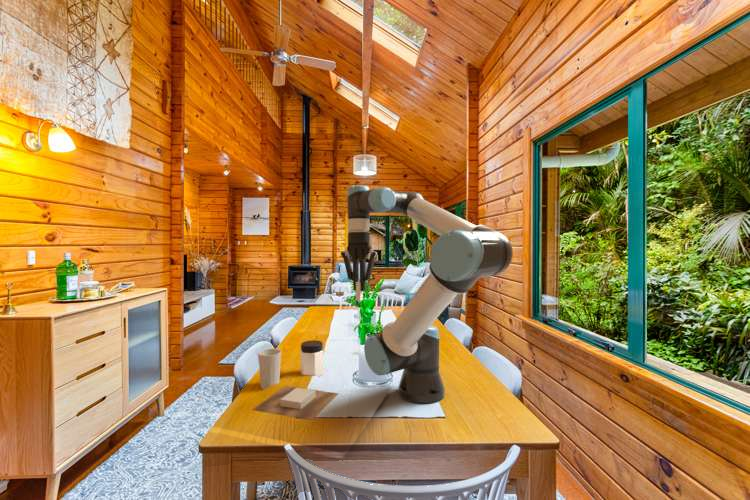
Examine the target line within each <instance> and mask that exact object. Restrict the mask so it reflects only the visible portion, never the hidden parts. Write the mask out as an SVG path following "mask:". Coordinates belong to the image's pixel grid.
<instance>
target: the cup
mask: <svg viewBox="0 0 750 500" xmlns="http://www.w3.org/2000/svg"><path fill="white" fill-rule="evenodd" d="M257 358H258V359H257V360H258V366H259V377H260V378H259V379H260V388H261V389H262V390H267V389H268V388H270V387H271V386H272V387H273V386H276V385H278V384H279V383H280V379H281V377H280V376H281V375H280V374H281V361H282V350H281V349H279V348H265V349H261V350H259V351H258V352H257Z"/></svg>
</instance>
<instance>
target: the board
mask: <svg viewBox="0 0 750 500" xmlns="http://www.w3.org/2000/svg"><path fill="white" fill-rule="evenodd" d="M295 388H298V387H296V386H290V385H285V386H284V387H282V388H281V389H278V391H276V392H274V393H273V394H272V395H271V396H269V397H268V398H266V399H264V401H262V402H260V403H259V404H257V405H256V406H254V407H253V408H251V410H252V411H256V412H262V413H268V414H273V415H278V416H279V415H280V416H284V417H291V418H296V419H301V420H307V421H313V420H314V419H315V418H316V417H317V416H318V415H319V413H321V412H322V411H323V410H324V409H325V408H326V406H328V405H329V404H330V403H331V402H332V401H333V400H334V399H335V398H336V397H337V396H338V395H339V393H338V392H337V393H336V392H330V391H325V390H324V391H323V390H318V389H315V390H316V397H315V398H314V399H312V400H311V401H310V402H309V403H308V404H307V405H305V406H304V407H303V408H302V409H295V408H289V407H283V406H281V405H280V399H282V398H283V397H284V396H286V395H287V394H289V393H290V392H291V391H293V390H294V389H295ZM301 388H302V387H301ZM302 389H305V388H302ZM308 389H309V388H308ZM309 390H312V389H311V388H310V389H309Z"/></svg>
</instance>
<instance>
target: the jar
mask: <svg viewBox="0 0 750 500" xmlns="http://www.w3.org/2000/svg"><path fill="white" fill-rule="evenodd" d="M323 345H324V344H323V341H321V340H313V339H312V340H306V341H303V342H301V343H300V373H301V375H302V376H311V377H318V378H320V377H322V376H324V373H325V371H324V370H325V368H324V365H325V364H324V363H325V362H324V361H325V360H324V349H323V347H324V346H323Z"/></svg>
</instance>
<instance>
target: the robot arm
mask: <svg viewBox="0 0 750 500" xmlns="http://www.w3.org/2000/svg"><path fill="white" fill-rule="evenodd" d="M346 200H347V201H346V202H347V205H346V206H347V231H348V233H347V243H348V245H347V247H346V249H345V250H344V251H342V252H340V255H341V257H342V258H343V261H344V262H343V263H344V267H345V271H346V275H347V279H348V280H349V281H352V282H353V287H352V288H353V291H355V302H361V301H363V300H364V298H363V297H364V291H366V281H368V280H370V279H371V278H372V273H373V269H374V263H375V260H376V257H377V256H378V252H377V251H374V250H373V249H372V246H371V236H370V235H371V233H370V232H369V231H370V229H371V224H370V222H371V221H370V219H371V217H370V214H372V213H373V214H376V213H378V214H379V213H381V214H382V213H383V214H398V215H399V214H401V215H404V216H406V217H407V218H409V219H412V220H413V221H414V222H416V223H417V224H419V225H421V226H423V227H425V228H427V229H428V230H429V231H431V232H433V233H435V234H437V236H438V237H436V239H435V241H434V242H433V244H432V246H431V248H430V252H429V254H430V255H431V256H430V257H429V265H428V268H429V269H428V270H429V272H430V273H429V274H428V275H427V277H426V278H425V279H424V281H423V282H422V283H421V285H420V286H419V288H418V289H417V290H416V292H415V293H414V295H413V296H412V297H411V299H409V302H408V303H407V304H406V305H405V307H404V308H403V310H401V312H400V314H399V315H398V316H397V317H396V319H395V320H394V321H391V322H388V323H387V324H385V325H384V327H383V328H382V329H381V330H380V332H379V333H377V334H376V335H371V336H369V337H367V338H366V340H365V342H364V347H363V349H364V350H363V351H364V359H365V360H366V364H367V366H368V367H369V369H370V371H371V372H372V373H374V374H375V375H377V376H384V375H385V376H386V375H390V374H391V373H395V372H398V371H402V370H403V371H402V374H401V377H400V379H399V383H398V395H399V396H400V397H401V398H402V399H404V400H406V401H408V402H412V403H416V404H417V403H418V404H431V403H432V404H433V403H436V402H440V401H441V400H442V399H443V398H444V397H445V393H446V390H445V386H444V384H445V383H444V382H443V378H442V375H441V372H440V340H441V338H440V333H439V329H438V327H437V326H435V325H433V323H434V322H435V321H436V320H437V319H438V317H440V315H441V314H442V313H443V312H444V311H445V310H446V308H447V307H448V305H450V303H452V301H453V300H454V299H455V298H456V296H457V295H464V294H466V293H468V292H469V291H470V290H471V289H472V287H473V286H474V285H475V283H477V282H478V280H479V279H481V278H488V277H489V278H490V277H495V276H498V275H500V274H502V273H504V272H505V271H506V270H507V269H508V268H509V266H510V265H511V263H512V260H513V256H514V255H513V246H512V244H511V242H510V239H508V238H507V237H506V236H505V235H504V234H502V233H501V232H499V231H497V230H496V229H493V228H490V227H488V226H486V225H485V224H478V225H476V224H473V222H472V223H471V222H470V221H468V220H466V219H464V218H462V217H460V216H457V215H456V214H453V213H452V212H450V211H448V210H446V209H444V208H442V207H439V206H438V205H435V204H434V203H432V202H429V201H428V200H425V198H424V197H423V195H422V194H420V193H418V192H413V191H401V190H394V189H393V190H392V189H391V188H390V187H387V186H382V187H381V186H380V187H376V188H373V189H372V188H370V187H369V186H368V185H362V184H360V185H358V184H357V185H351V186H349V187H348V189H347V196H346ZM368 255H369V258H368V262H367V264H366V261H367V257H368ZM350 256H351V259H350ZM351 261H352V263H351ZM366 266H367V267H366Z"/></svg>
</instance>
